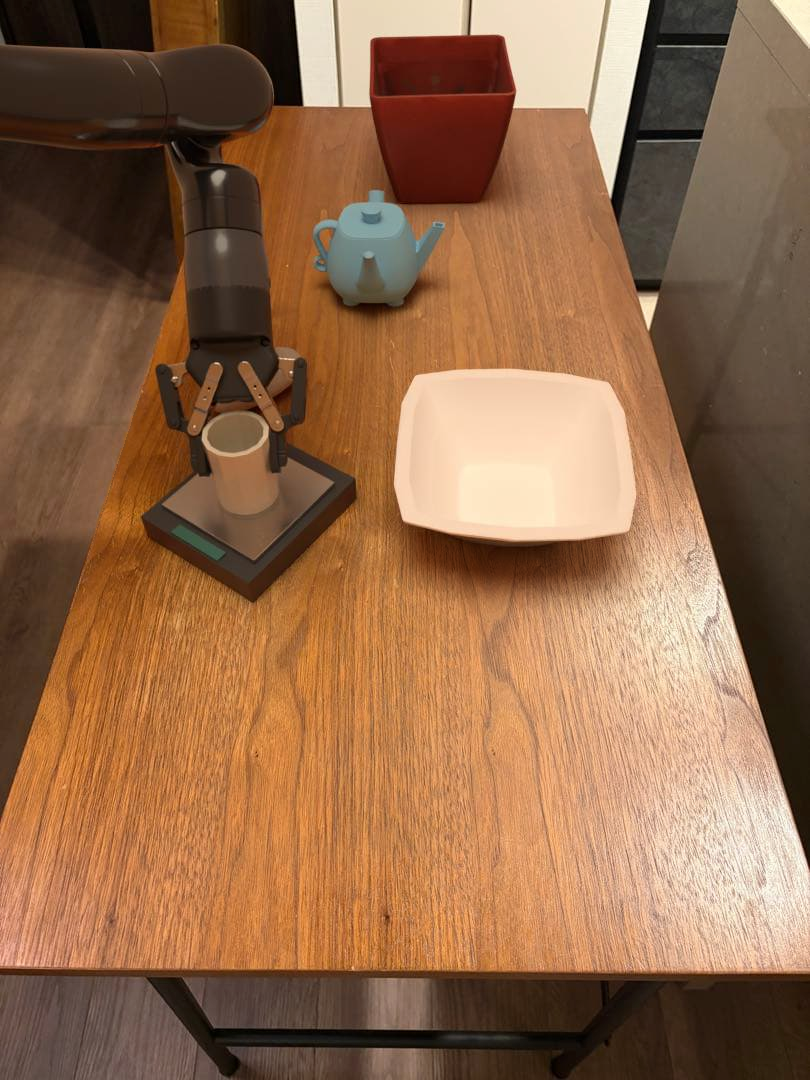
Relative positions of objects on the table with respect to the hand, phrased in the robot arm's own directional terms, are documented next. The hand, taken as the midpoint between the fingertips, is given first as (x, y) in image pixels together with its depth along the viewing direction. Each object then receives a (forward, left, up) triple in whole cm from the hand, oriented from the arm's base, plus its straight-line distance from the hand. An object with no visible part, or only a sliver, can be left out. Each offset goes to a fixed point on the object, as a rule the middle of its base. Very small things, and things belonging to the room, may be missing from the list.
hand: (241, 474), depth 78 cm
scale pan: (+1, +1, -5) cm, 5 cm away
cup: (+1, +1, -4) cm, 5 cm away
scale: (+1, +1, -8) cm, 8 cm away
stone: (+15, +13, -8) cm, 22 cm away
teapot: (+40, +14, -8) cm, 43 cm away
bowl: (+17, -19, -8) cm, 27 cm away
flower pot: (+67, +23, -8) cm, 72 cm away
